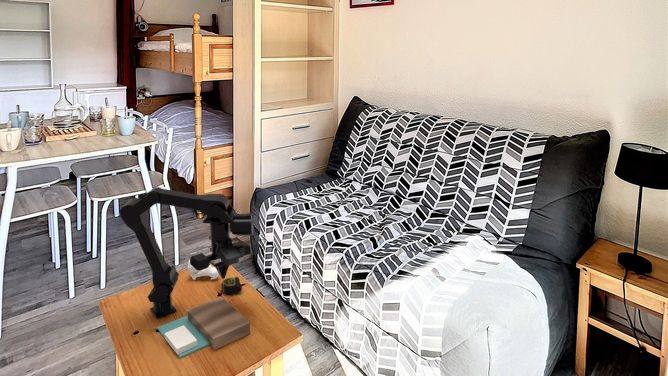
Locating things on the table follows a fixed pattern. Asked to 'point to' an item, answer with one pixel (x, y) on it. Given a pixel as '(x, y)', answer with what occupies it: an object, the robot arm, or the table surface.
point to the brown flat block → (218, 322)
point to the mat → (184, 321)
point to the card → (180, 339)
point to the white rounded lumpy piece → (202, 272)
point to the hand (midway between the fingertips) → (222, 278)
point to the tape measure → (231, 285)
